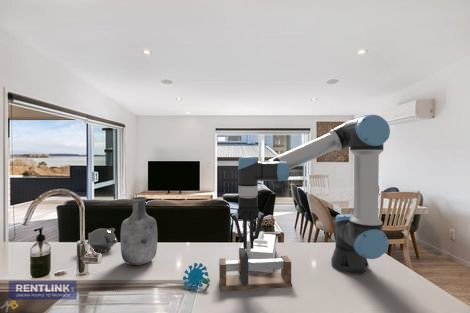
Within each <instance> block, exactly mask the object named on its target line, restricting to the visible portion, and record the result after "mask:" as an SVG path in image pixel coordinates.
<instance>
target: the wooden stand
mask: <svg viewBox="0 0 470 313" xmlns="http://www.w3.org/2000/svg"><path fill="white" fill-rule="evenodd" d="M280 258H282V259H283V260H284V269H280V272H266V273H252V274H251V273H250V274H249V273H248V284H242V282H241V278H240V274H231V275H230V274H227V272H226V261H227V259H226V257H225V258H224V257H223V258H219V259H218V261H219V262H218V263H219V264H218V265H219V266H218V267H219V268H218V269H219V271H218V273H219V274H218V275H219V276H218V277H219V278H218V279H219V280H218V282H219V288H220V292H225V291H227V290H230V291H245V290H246V291H247V290H248V291H249V290H263V289H264V290H266V289H269V290H270V289H283V288H285V289H286V288H293V283H292V261H291V260H290V258H289V256H288V255H281V256H280Z"/></svg>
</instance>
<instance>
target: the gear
mask: <svg viewBox="0 0 470 313" xmlns="http://www.w3.org/2000/svg"><path fill="white" fill-rule="evenodd" d="M188 269H189V271H188V270H187V269H186V270H185V271H184V272H183V273H184V274H185V275H183V276H182V280H183V281H184V282H183V285H184V287H187V290H192V289H193V290H194V291H197V290H198V288H202V287H203V284H204V285H207V286H210V282H211V280H210V278H208V276H209V272H208V271H207V269H208V268H207V267H206V266H204V264H202V262H200V263H197V262H194V263H193V266H192V265H191V264H189V265H188ZM203 271H205V272H203ZM186 275H187V277H186ZM204 276H206V277H207V278H206V277H204ZM186 280H187V281H186Z"/></svg>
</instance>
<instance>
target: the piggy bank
mask: <svg viewBox="0 0 470 313" xmlns="http://www.w3.org/2000/svg"><path fill="white" fill-rule="evenodd" d="M115 231H116V228H114V227H110V228H97V229H95V230H92V232H88V234H87V235H88V244H89V247H90V248H91V249H92V248H93V249H94V251H95V252H97V253H98V252H99V251H101V253H102V254H106V253H107V250H108V251H109V250H111V249H112V247H114V246H115V245H116V244H117V243H118V242H119V241H118V238H117V237H116V234H115V233H114V232H115ZM93 249H92V250H93Z"/></svg>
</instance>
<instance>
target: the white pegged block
mask: <svg viewBox="0 0 470 313" xmlns="http://www.w3.org/2000/svg"><path fill="white" fill-rule="evenodd" d="M247 239H250V232H247ZM276 239H277V237H276V234H268V233H267V234H266V233H265V231H263V230H260V232H259V236H258V239H255V240H254V241H253V249H251V258H248V260H251V259H275V257H276V251H277V248H276V245H277V244H276V242H277V241H276ZM240 248H244V247H243V243H242V244H241V245H240ZM252 271H253V272H260V273H261V272H264V273H274V269H272V270H250V272H252Z"/></svg>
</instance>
